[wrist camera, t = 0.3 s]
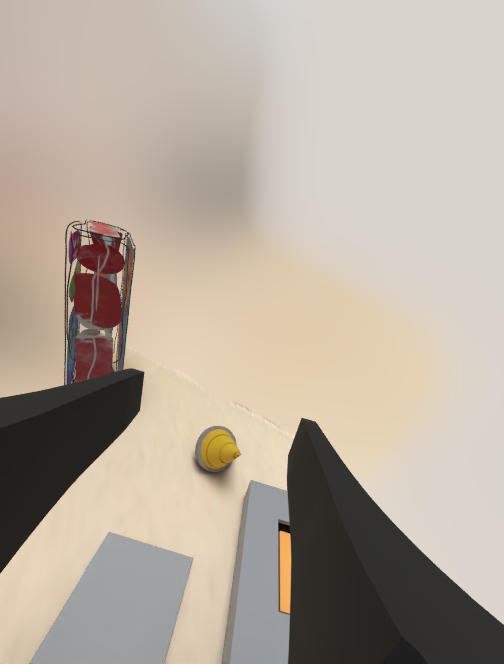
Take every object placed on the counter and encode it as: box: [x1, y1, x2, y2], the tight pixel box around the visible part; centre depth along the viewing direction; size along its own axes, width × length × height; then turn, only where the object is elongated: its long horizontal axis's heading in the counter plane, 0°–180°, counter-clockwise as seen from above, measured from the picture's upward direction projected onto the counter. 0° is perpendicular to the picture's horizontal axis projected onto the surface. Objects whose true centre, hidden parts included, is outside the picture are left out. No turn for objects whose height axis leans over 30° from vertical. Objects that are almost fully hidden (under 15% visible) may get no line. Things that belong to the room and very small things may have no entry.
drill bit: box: [195, 426, 241, 472], centre depth 29 cm, size 5×5×10 cm
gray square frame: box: [222, 480, 290, 664], centre depth 21 cm, size 13×13×3 cm
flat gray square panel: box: [29, 532, 193, 664], centre depth 17 cm, size 8×8×1 cm
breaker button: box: [278, 531, 291, 615], centre depth 21 cm, size 6×6×1 cm
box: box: [64, 221, 135, 385], centre depth 30 cm, size 25×6×24 cm, turn 29°
